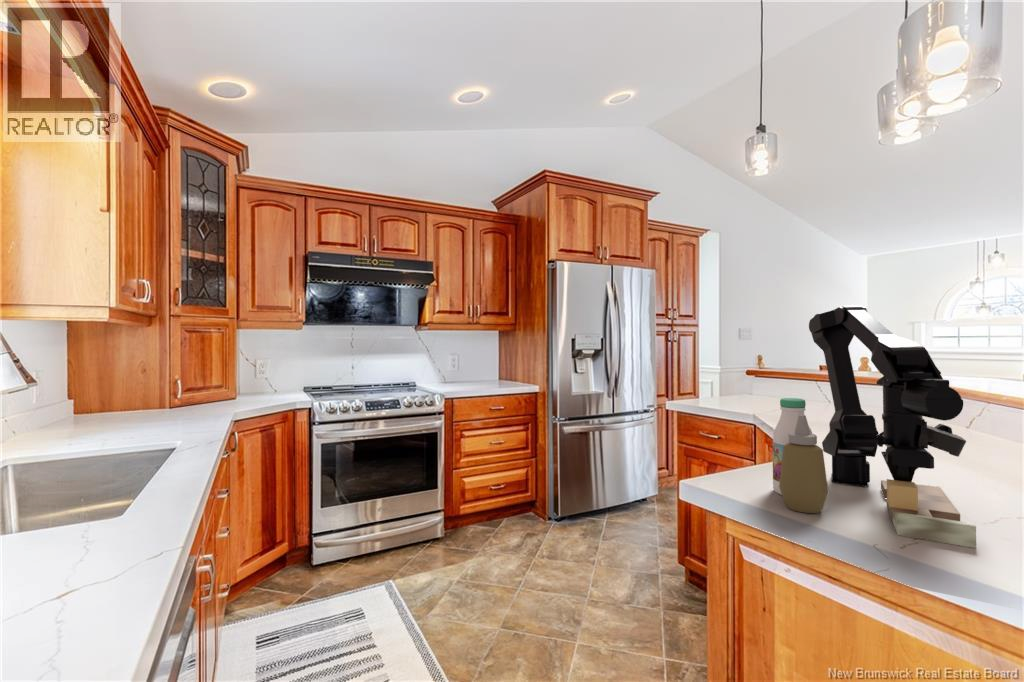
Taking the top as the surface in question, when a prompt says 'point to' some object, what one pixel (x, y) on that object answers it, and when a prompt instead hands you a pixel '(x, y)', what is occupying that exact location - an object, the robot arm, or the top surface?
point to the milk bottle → (785, 433)
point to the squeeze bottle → (803, 471)
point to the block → (902, 494)
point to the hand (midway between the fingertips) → (903, 493)
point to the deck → (932, 518)
